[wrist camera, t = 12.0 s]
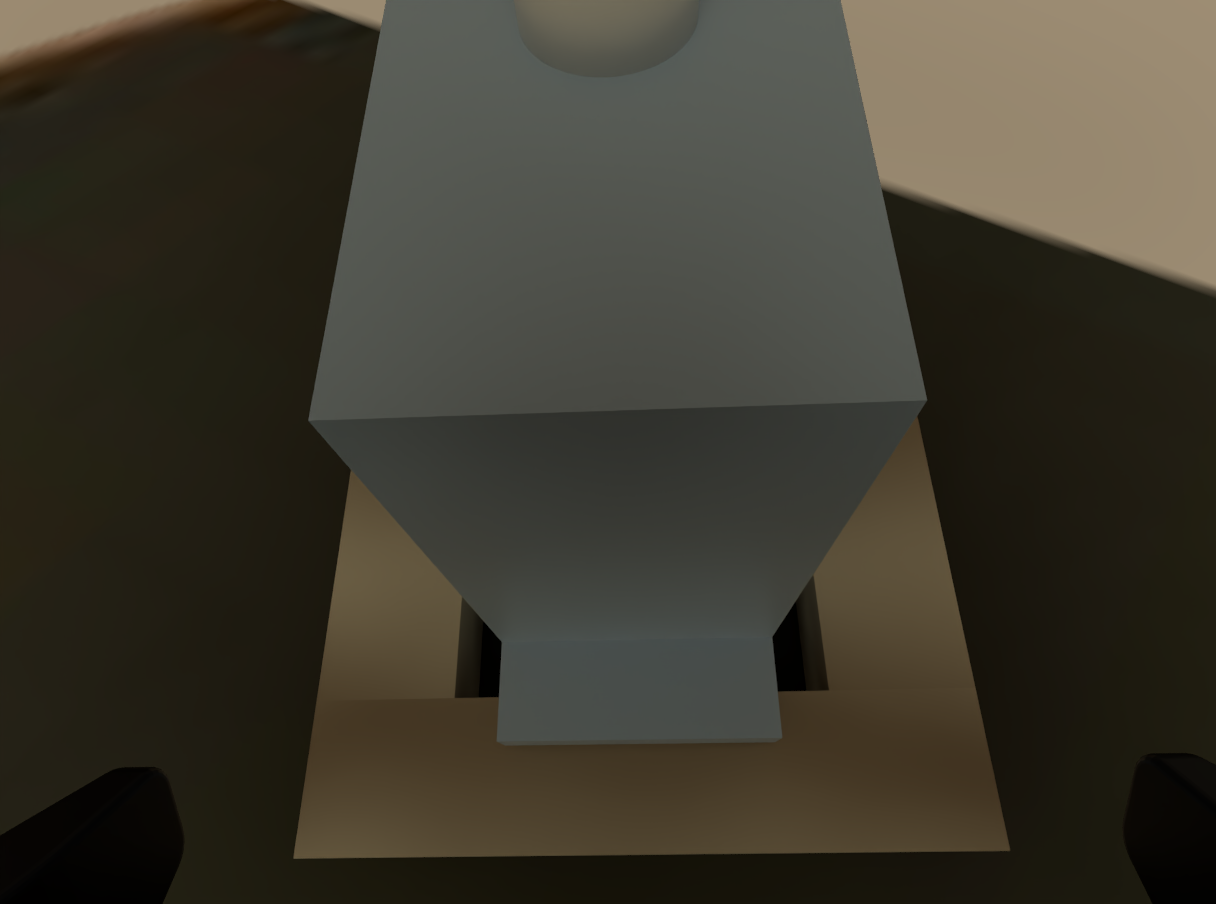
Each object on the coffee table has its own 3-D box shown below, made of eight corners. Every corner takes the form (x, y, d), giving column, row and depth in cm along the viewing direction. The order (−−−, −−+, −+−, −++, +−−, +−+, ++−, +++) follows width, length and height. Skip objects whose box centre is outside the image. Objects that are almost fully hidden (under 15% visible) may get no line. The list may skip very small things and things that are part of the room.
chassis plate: (963, 846, 14) (1010, 851, 12) (338, 853, 14) (292, 858, 13) (857, 288, 19) (878, 234, 18) (407, 307, 20) (382, 256, 18)
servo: (759, 752, 15) (1049, 573, 4) (524, 754, 15) (185, 592, 4) (724, 351, 19) (820, -283, 8) (538, 358, 19) (386, -251, 8)
